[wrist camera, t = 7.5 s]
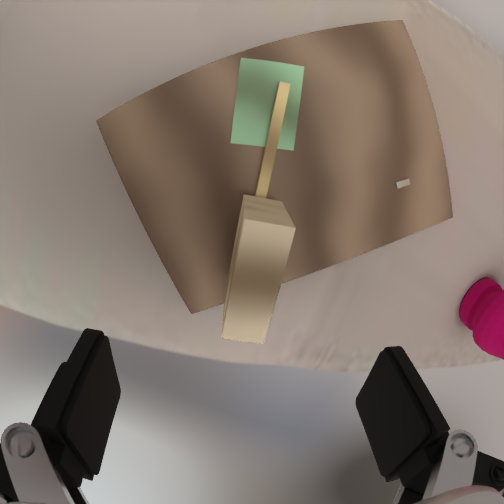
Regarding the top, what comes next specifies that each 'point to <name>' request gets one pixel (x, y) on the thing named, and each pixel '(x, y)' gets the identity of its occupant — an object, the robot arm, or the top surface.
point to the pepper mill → (485, 315)
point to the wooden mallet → (259, 248)
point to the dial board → (285, 153)
